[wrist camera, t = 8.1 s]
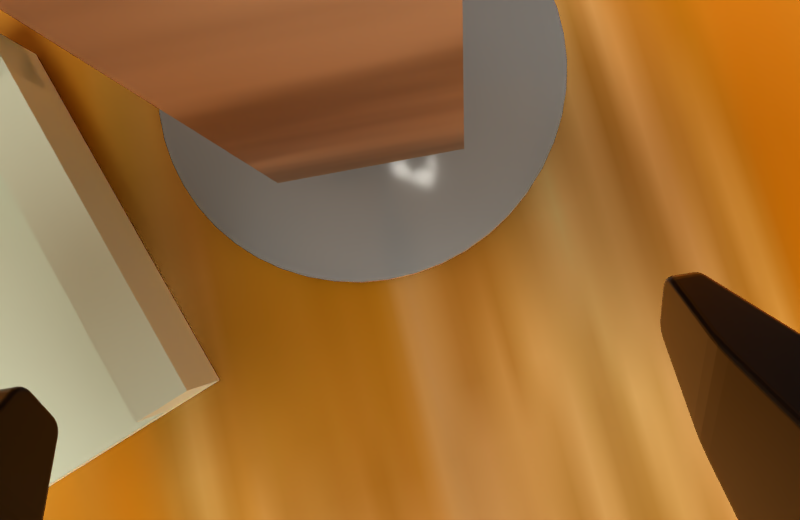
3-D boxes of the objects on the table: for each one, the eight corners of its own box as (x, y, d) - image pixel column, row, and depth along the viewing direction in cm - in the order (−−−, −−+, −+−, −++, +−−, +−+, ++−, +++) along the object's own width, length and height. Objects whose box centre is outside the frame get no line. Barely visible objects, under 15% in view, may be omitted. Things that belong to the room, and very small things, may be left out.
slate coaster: (637, -10, 16) (643, -22, 16) (441, 356, 16) (440, 358, 16) (283, -169, 18) (277, -185, 17) (100, 168, 18) (88, 163, 17)
